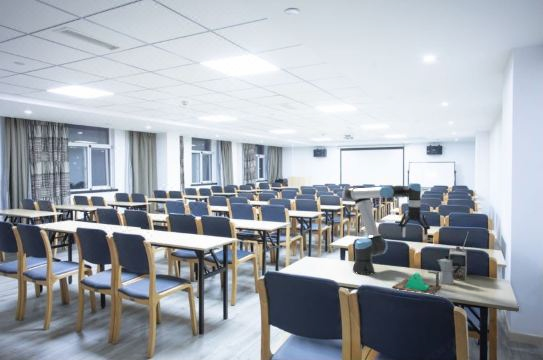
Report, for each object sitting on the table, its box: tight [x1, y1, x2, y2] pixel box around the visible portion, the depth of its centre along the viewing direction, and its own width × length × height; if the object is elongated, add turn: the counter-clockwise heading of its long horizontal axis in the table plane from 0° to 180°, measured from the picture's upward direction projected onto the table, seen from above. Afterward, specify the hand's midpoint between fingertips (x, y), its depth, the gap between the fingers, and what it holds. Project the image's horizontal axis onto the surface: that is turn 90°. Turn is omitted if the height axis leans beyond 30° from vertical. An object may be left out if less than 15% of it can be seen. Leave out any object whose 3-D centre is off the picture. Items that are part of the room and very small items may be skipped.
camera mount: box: [405, 272, 430, 292], centre depth 225 cm, size 12×8×10 cm, turn 50°
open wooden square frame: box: [391, 270, 441, 295], centre depth 226 cm, size 22×21×10 cm
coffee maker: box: [436, 254, 461, 285], centre depth 236 cm, size 15×9×18 cm, turn 44°
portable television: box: [448, 231, 469, 281], centre depth 250 cm, size 12×24×30 cm, turn 152°
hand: (413, 238), depth 243 cm, fingers open, 13 cm apart
